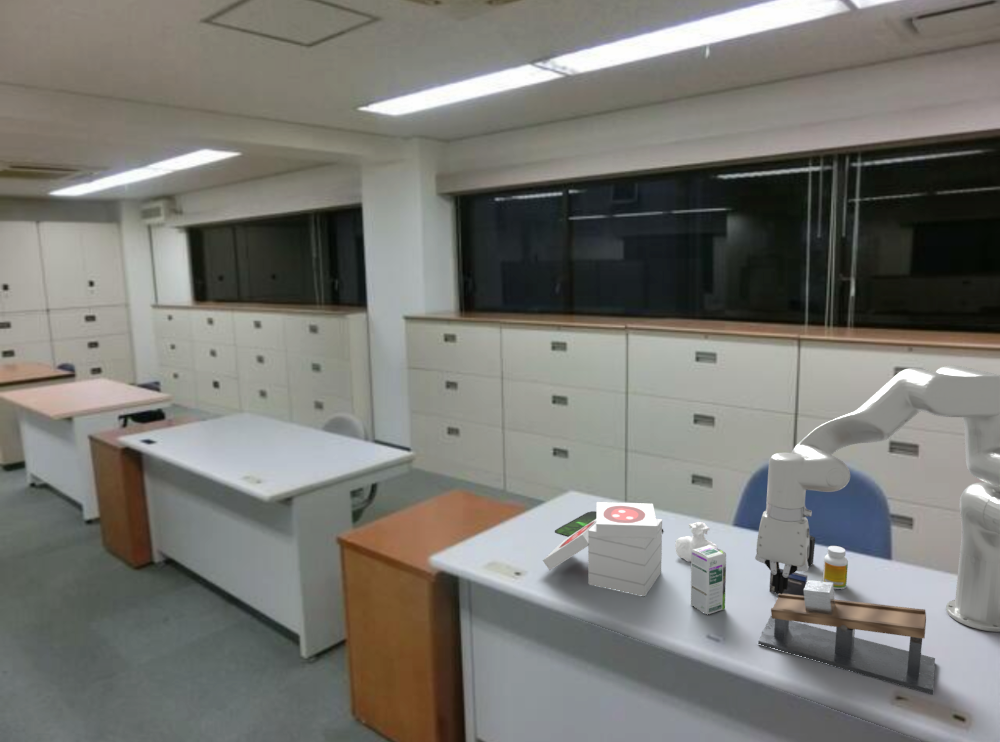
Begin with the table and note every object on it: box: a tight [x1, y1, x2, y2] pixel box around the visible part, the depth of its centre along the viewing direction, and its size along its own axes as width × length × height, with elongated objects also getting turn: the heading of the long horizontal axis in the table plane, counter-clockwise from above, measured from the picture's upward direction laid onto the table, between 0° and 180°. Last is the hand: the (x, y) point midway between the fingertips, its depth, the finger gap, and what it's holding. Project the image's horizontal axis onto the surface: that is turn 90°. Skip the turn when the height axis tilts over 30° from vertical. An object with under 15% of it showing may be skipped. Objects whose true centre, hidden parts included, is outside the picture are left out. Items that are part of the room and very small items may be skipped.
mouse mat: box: [554, 510, 664, 538], centre depth 208 cm, size 27×22×1 cm
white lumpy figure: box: [675, 521, 719, 563], centre depth 188 cm, size 12×8×11 cm
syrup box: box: [690, 545, 727, 616], centre depth 162 cm, size 6×6×14 cm
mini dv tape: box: [769, 568, 808, 596], centre depth 167 cm, size 8×2×6 cm, turn 53°
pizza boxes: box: [542, 501, 663, 597], centre depth 179 cm, size 19×30×18 cm, turn 61°
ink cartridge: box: [807, 534, 816, 567], centre depth 183 cm, size 5×2×8 cm, turn 47°
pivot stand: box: [757, 615, 936, 695], centre depth 143 cm, size 32×12×8 cm, turn 57°
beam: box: [770, 593, 927, 640], centre depth 142 cm, size 28×9×3 cm, turn 56°
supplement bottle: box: [822, 545, 849, 590], centre depth 171 cm, size 5×5×10 cm
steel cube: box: [804, 579, 836, 615], centre depth 144 cm, size 5×5×5 cm
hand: (779, 590), depth 148 cm, fingers closed
